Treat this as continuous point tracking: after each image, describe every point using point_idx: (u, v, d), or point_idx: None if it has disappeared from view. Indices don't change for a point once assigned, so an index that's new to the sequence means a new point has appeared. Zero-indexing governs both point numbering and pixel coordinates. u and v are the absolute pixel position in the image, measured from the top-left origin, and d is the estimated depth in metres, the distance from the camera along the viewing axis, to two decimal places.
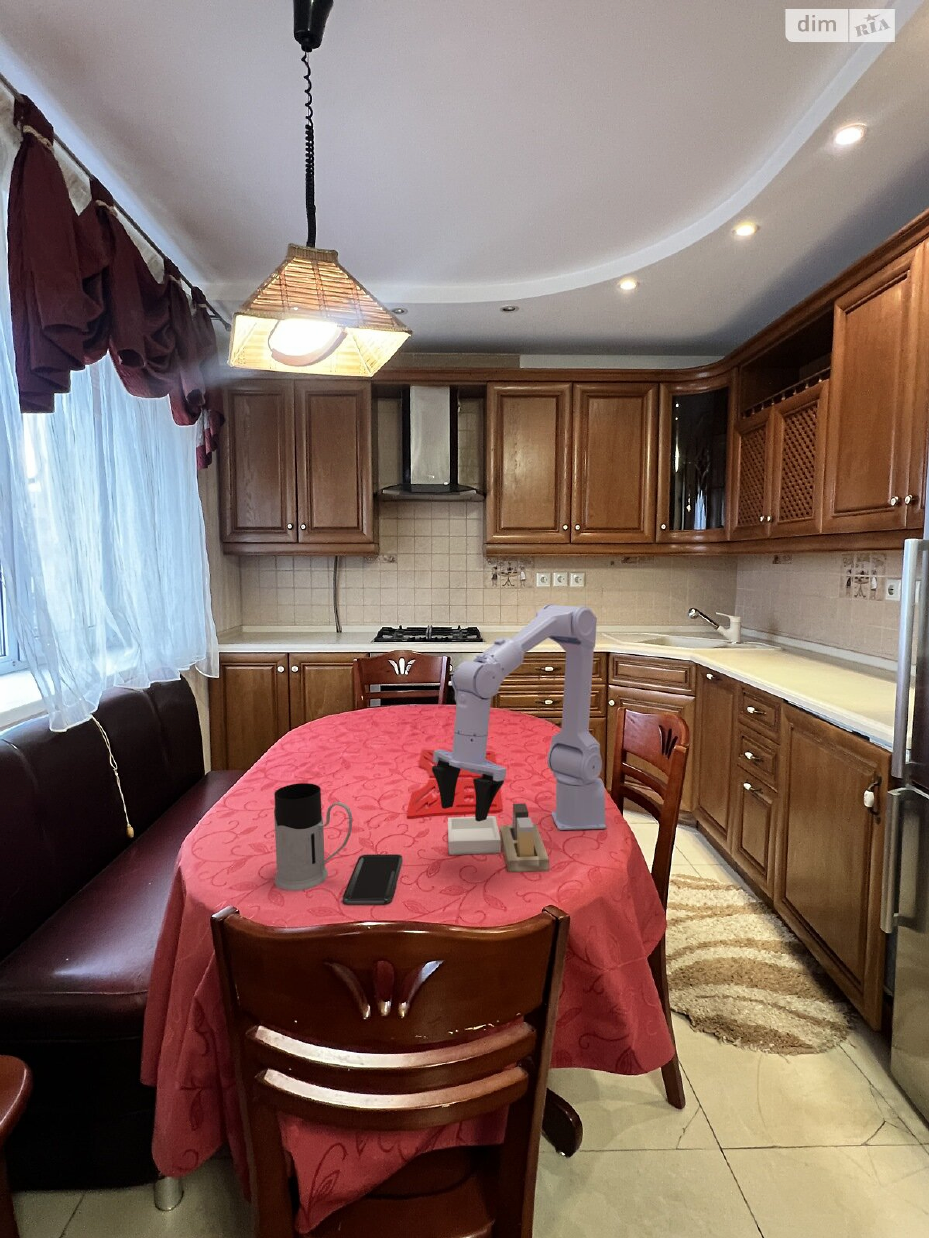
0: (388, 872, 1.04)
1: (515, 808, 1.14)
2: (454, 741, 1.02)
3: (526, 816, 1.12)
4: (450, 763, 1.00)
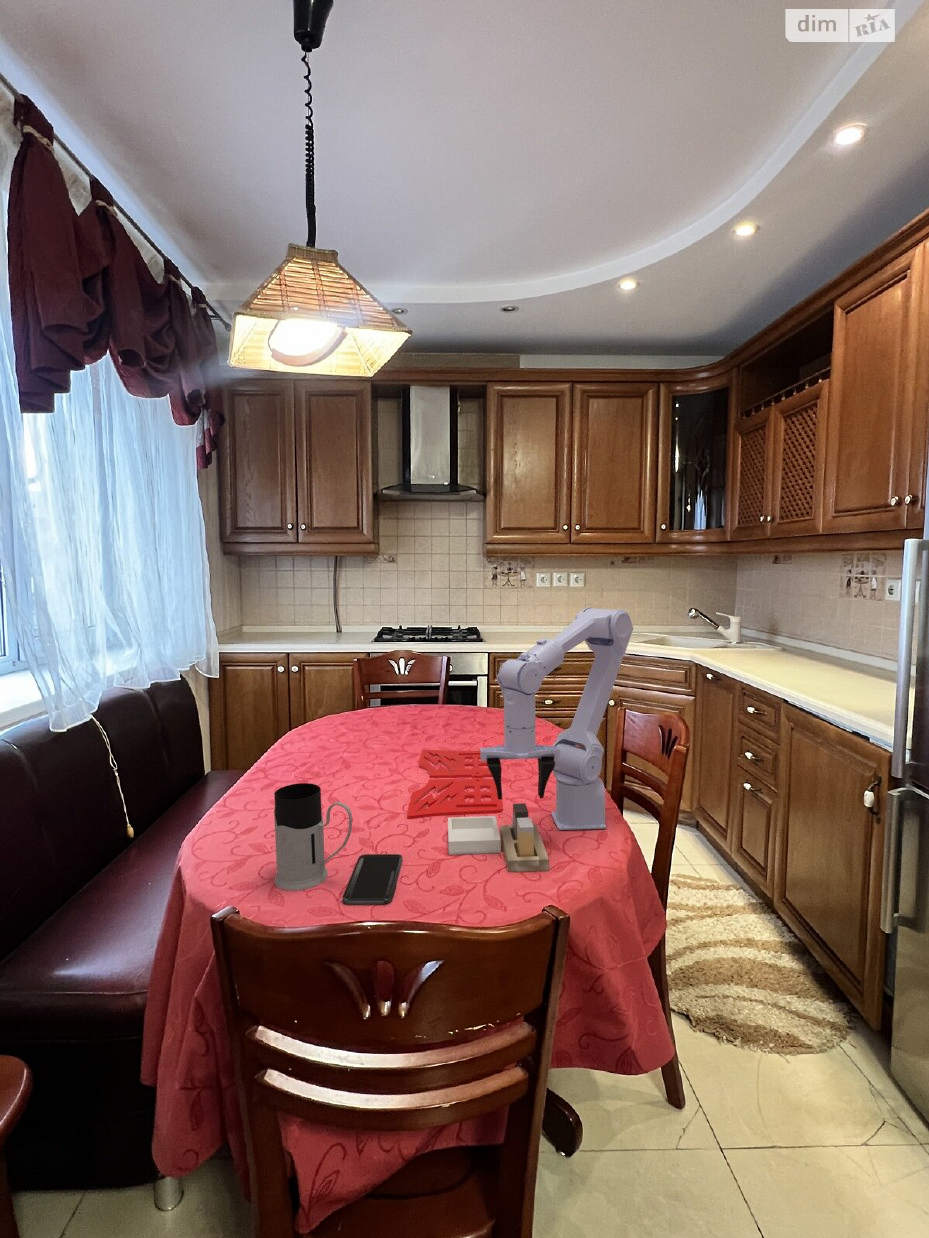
0: (388, 872, 1.04)
1: (515, 808, 1.14)
2: (514, 736, 1.10)
3: (526, 816, 1.12)
4: (520, 757, 1.09)
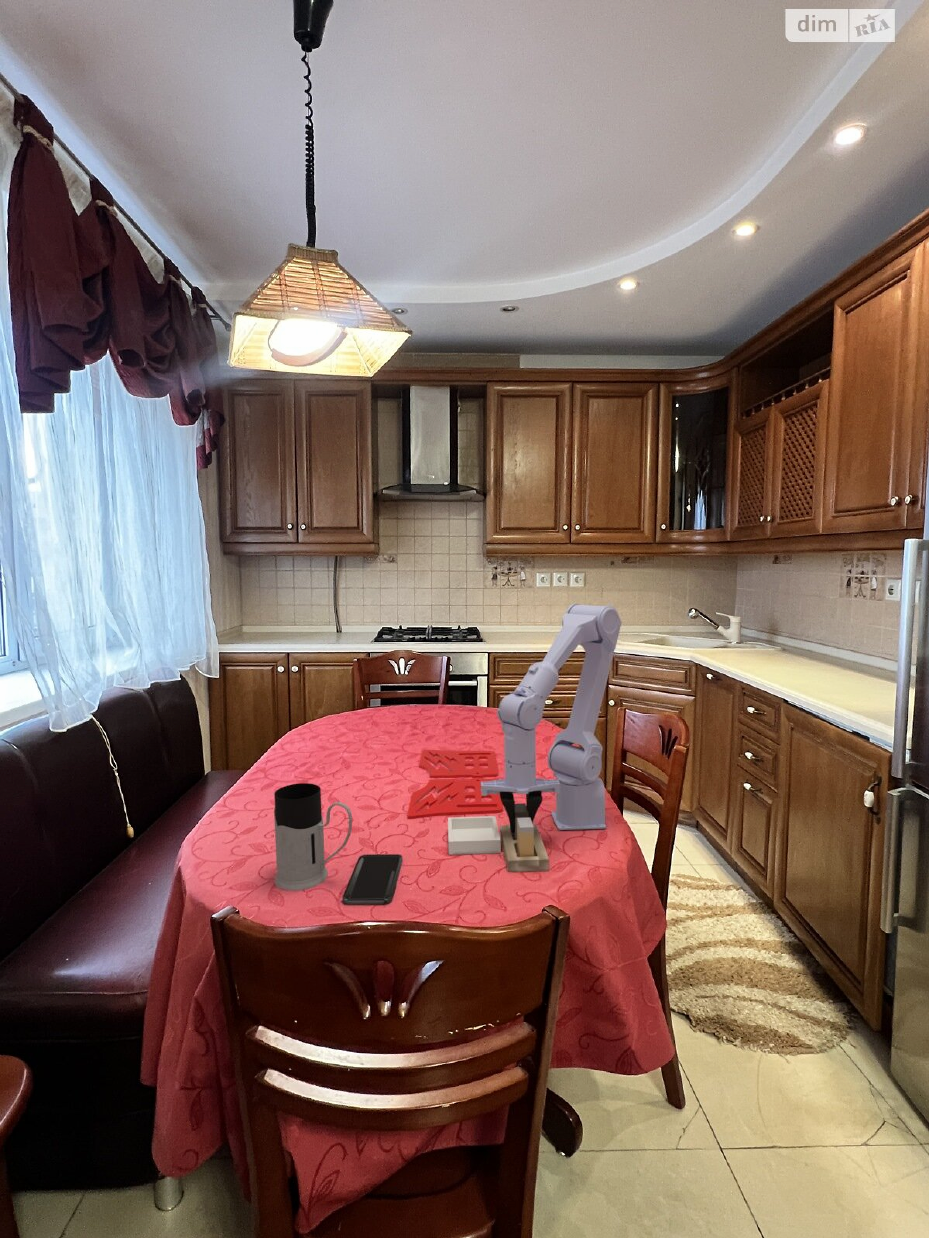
0: (388, 872, 1.04)
1: (515, 808, 1.14)
2: (514, 772, 1.11)
3: (526, 816, 1.12)
4: (520, 792, 1.10)
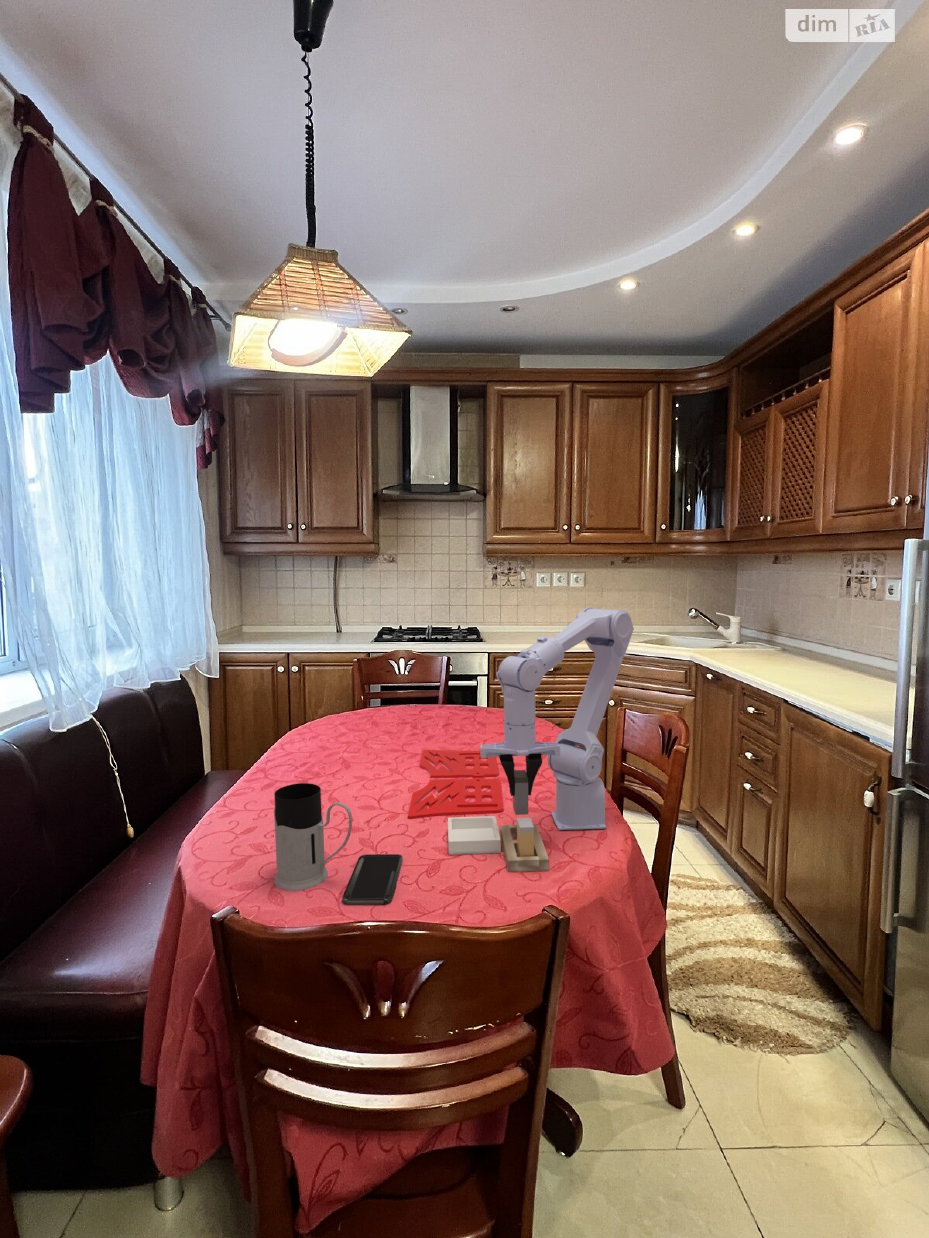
0: (388, 872, 1.04)
1: (515, 774, 1.13)
2: (514, 733, 1.10)
3: (526, 781, 1.12)
4: (520, 754, 1.09)
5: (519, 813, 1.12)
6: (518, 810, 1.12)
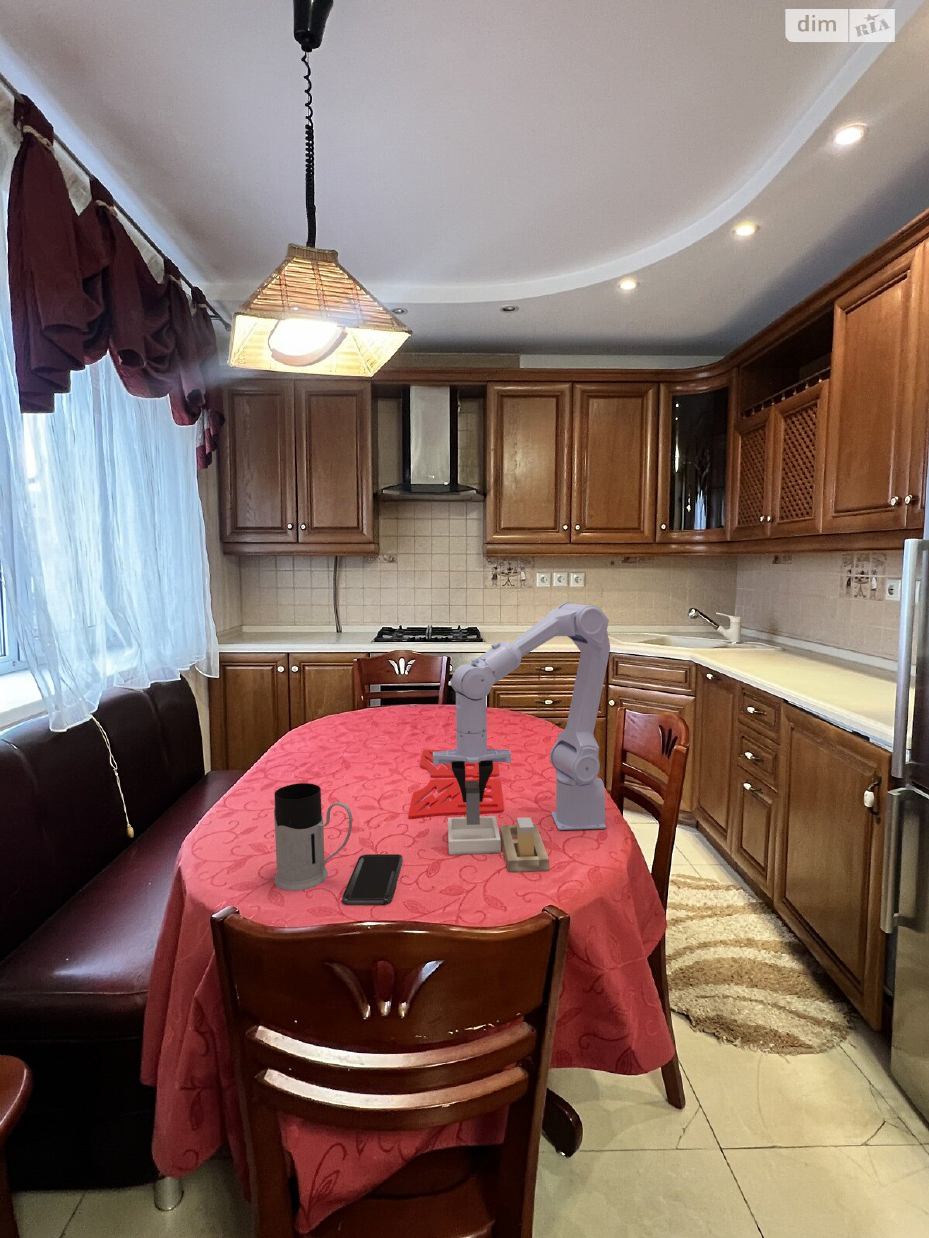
0: (388, 872, 1.04)
1: (467, 784, 1.15)
2: (465, 741, 1.12)
3: (477, 792, 1.13)
4: (470, 761, 1.10)
5: (470, 823, 1.14)
6: (469, 820, 1.14)
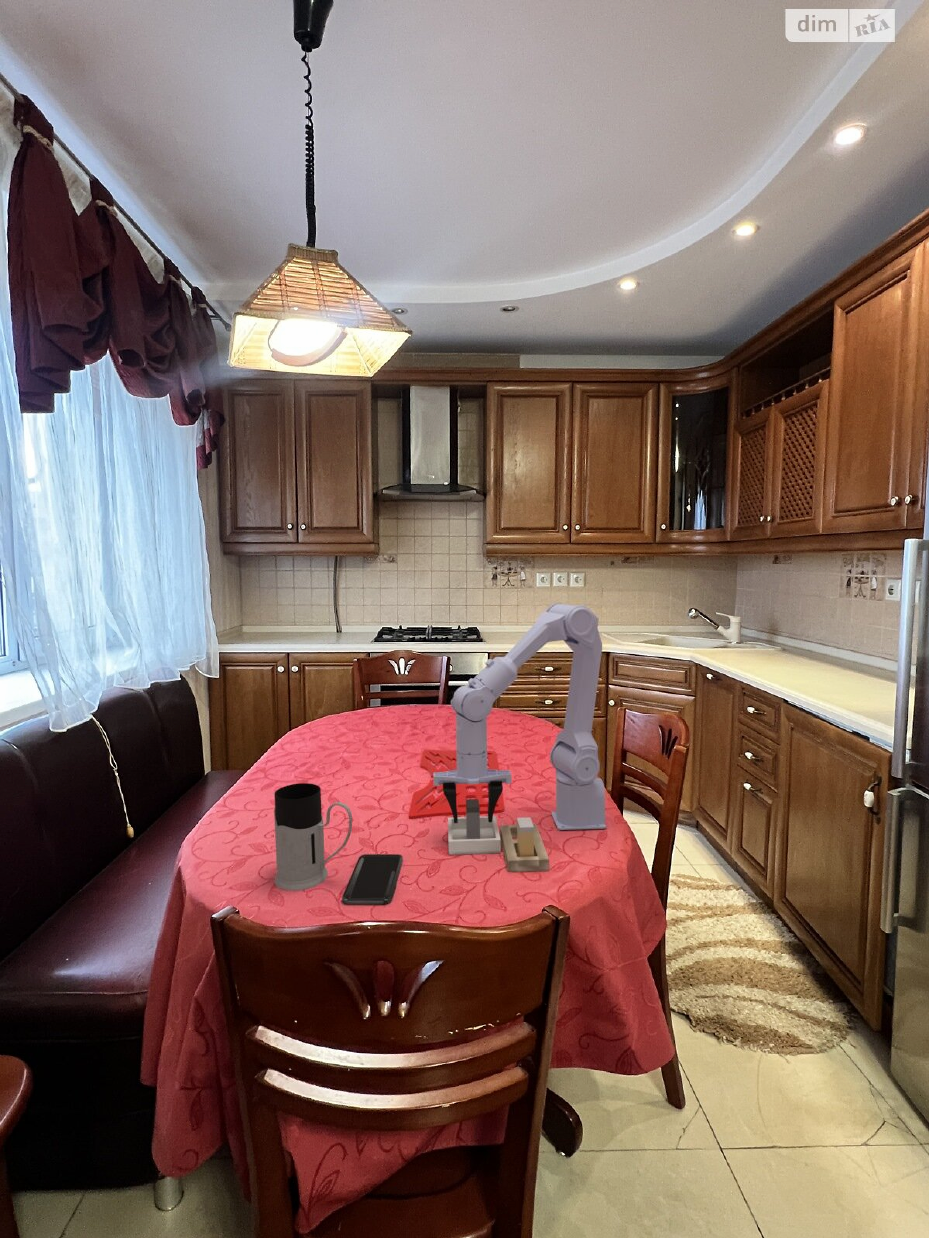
0: (388, 872, 1.04)
1: (467, 803, 1.15)
2: (465, 762, 1.12)
3: (477, 811, 1.13)
4: (471, 783, 1.11)
5: None
6: None
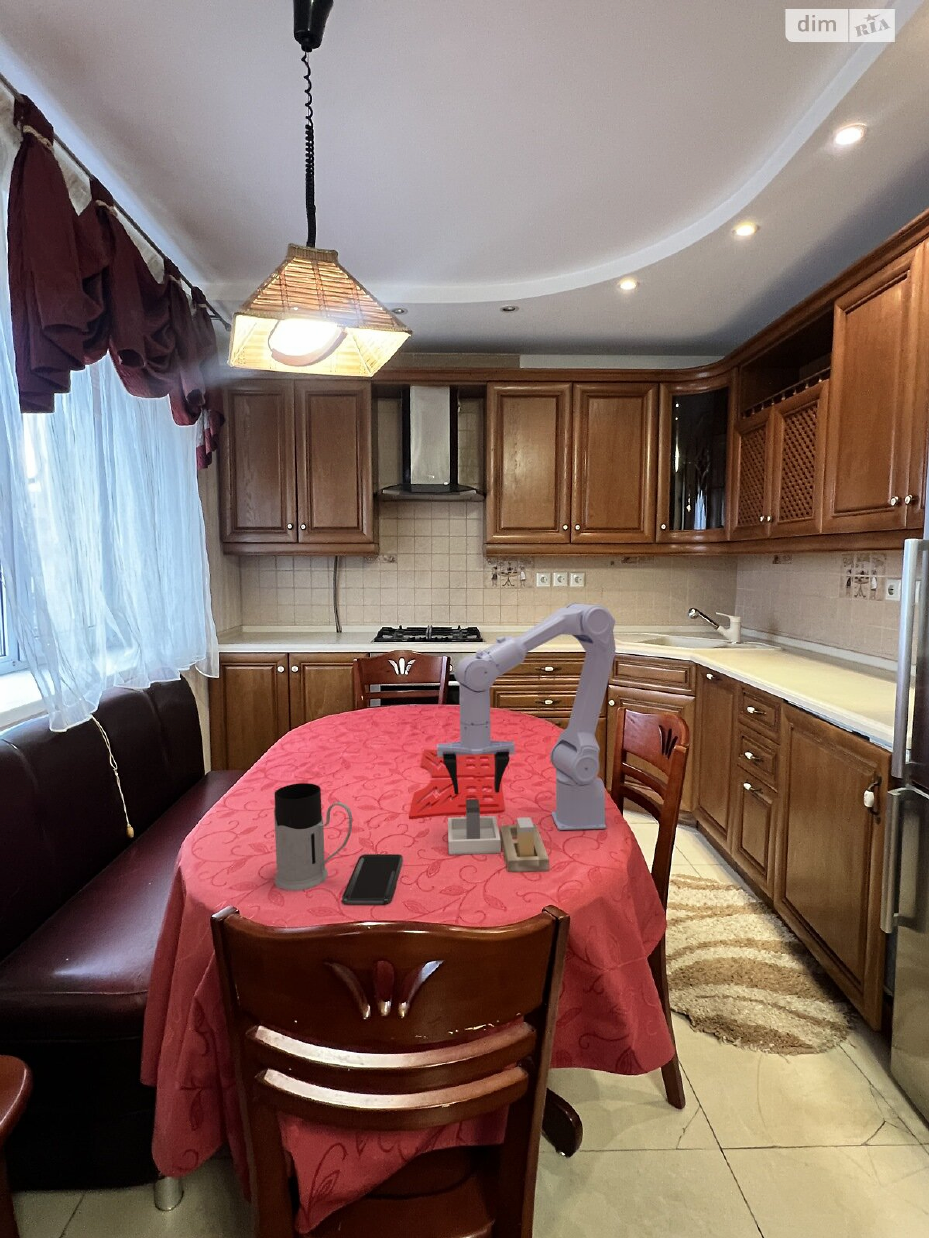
0: (388, 872, 1.04)
1: (467, 803, 1.15)
2: (469, 732, 1.12)
3: (477, 811, 1.13)
4: (474, 752, 1.11)
5: None
6: None
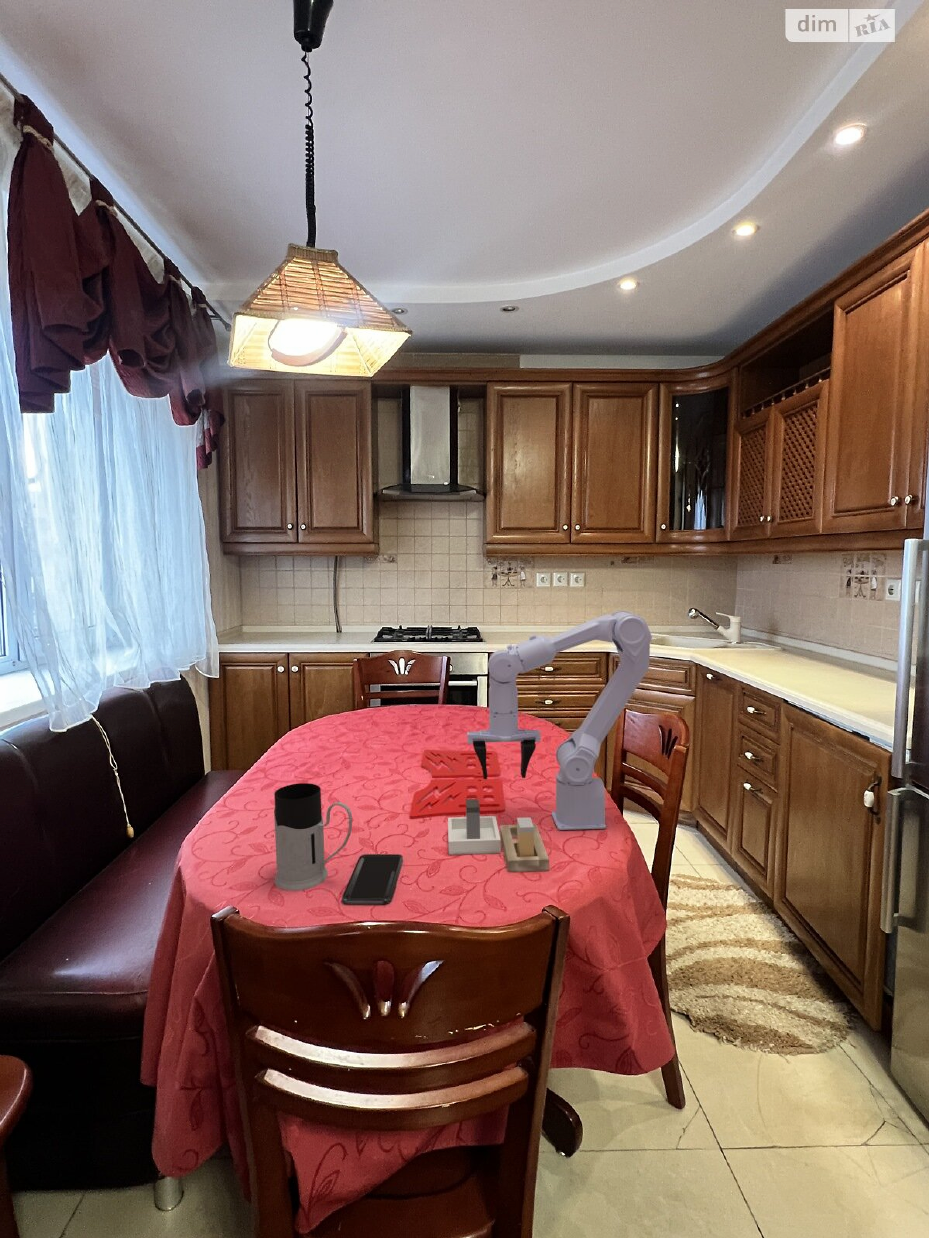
0: (388, 872, 1.04)
1: (467, 803, 1.15)
2: (498, 721, 1.20)
3: (477, 811, 1.13)
4: (503, 740, 1.19)
5: None
6: None
